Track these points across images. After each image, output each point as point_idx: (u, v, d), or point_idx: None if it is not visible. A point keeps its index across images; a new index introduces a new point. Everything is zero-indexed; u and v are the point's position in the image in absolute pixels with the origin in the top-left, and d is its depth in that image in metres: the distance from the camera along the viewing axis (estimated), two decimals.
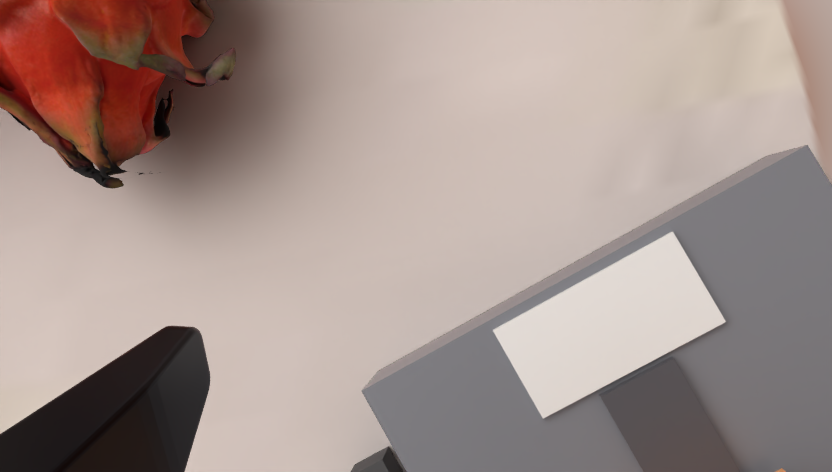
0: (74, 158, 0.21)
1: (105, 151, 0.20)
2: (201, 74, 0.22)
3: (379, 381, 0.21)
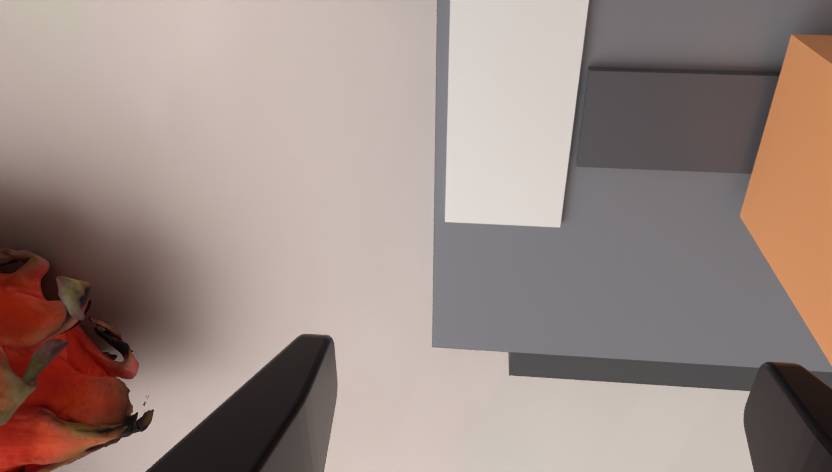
0: (108, 442, 0.23)
1: (108, 429, 0.22)
2: (72, 315, 0.21)
3: (433, 329, 0.20)
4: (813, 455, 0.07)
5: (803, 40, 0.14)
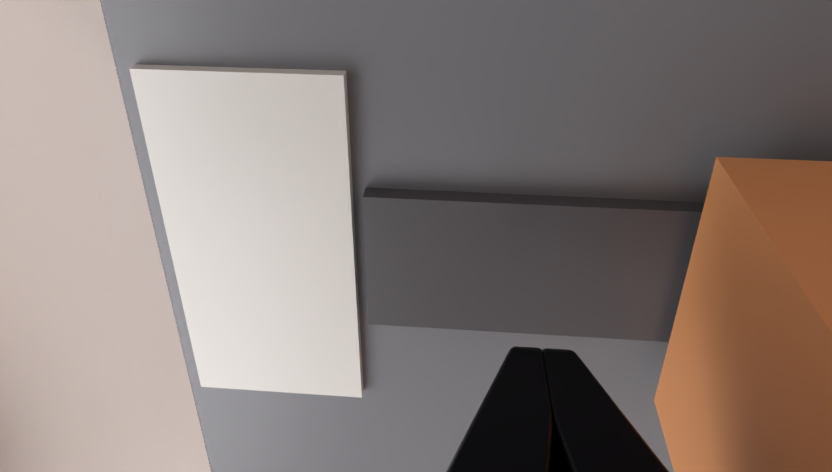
0: None
1: None
2: None
3: None
4: None
5: (733, 172, 0.09)
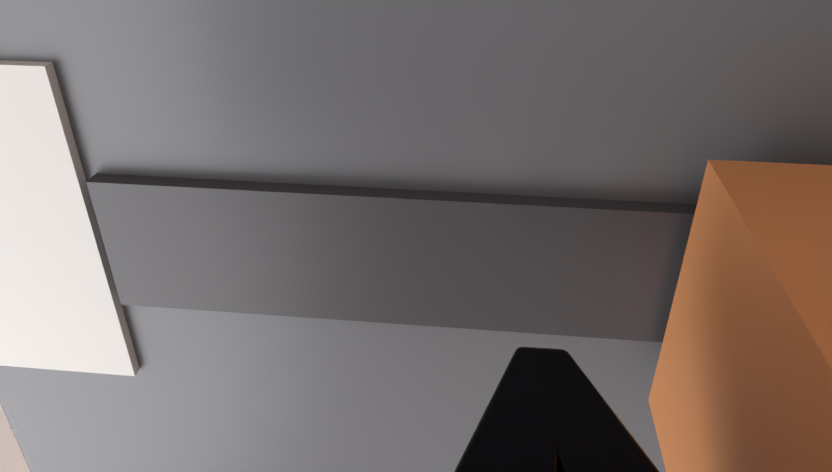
0: None
1: None
2: None
3: None
4: None
5: (723, 174, 0.09)
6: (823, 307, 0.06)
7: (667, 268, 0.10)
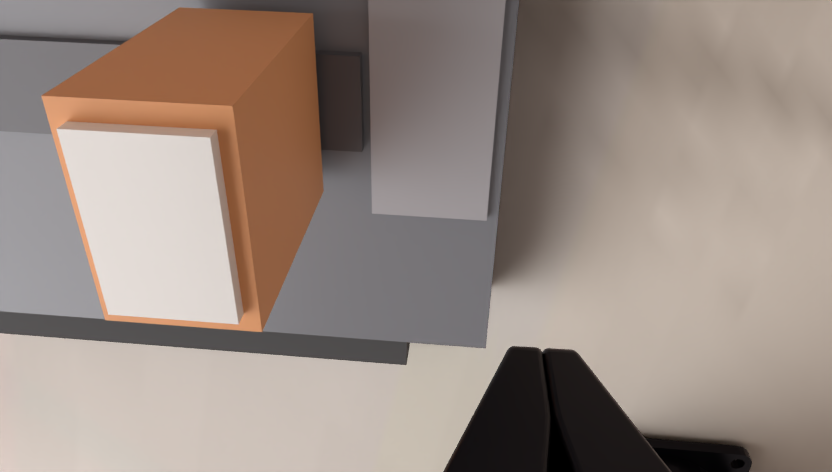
0: None
1: None
2: None
3: None
4: (553, 437, 0.07)
5: (174, 12, 0.15)
6: (123, 50, 0.12)
7: None
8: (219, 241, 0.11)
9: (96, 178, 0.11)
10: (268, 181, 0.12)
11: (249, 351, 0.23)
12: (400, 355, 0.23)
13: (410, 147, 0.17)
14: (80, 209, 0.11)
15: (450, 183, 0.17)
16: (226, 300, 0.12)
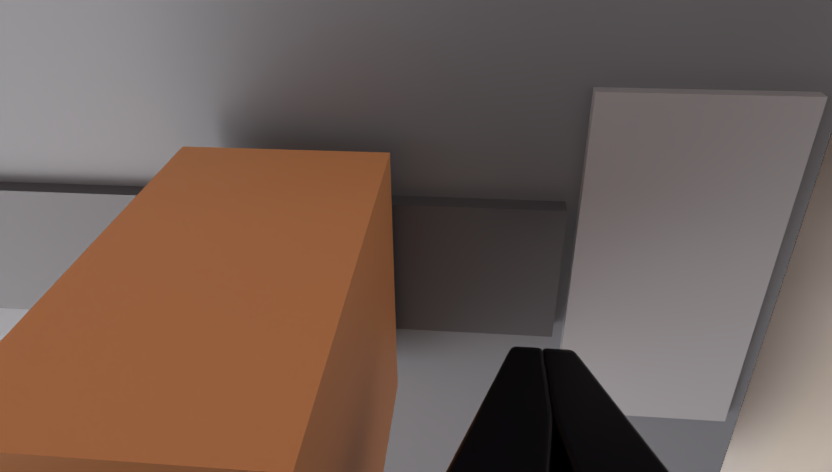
0: None
1: None
2: None
3: None
4: None
5: (175, 159, 0.09)
6: (85, 272, 0.07)
7: None
8: None
9: None
10: None
11: None
12: None
13: (625, 329, 0.11)
14: None
15: (678, 375, 0.12)
16: None
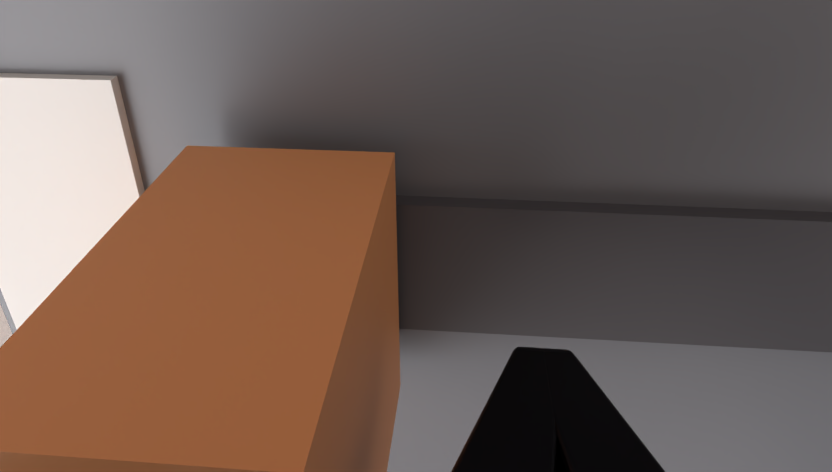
0: None
1: None
2: None
3: None
4: None
5: (180, 158, 0.09)
6: (91, 271, 0.07)
7: (730, 273, 0.10)
8: None
9: None
10: None
11: None
12: None
13: None
14: None
15: None
16: None
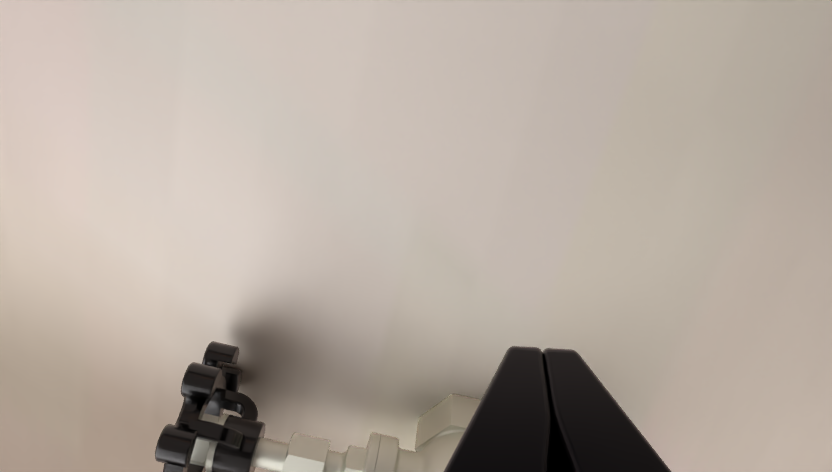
0: None
1: None
2: None
3: None
4: (553, 436, 0.07)
5: None
6: None
7: None
8: None
9: None
10: None
11: None
12: None
13: None
14: None
15: None
16: None
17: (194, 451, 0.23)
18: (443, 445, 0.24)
